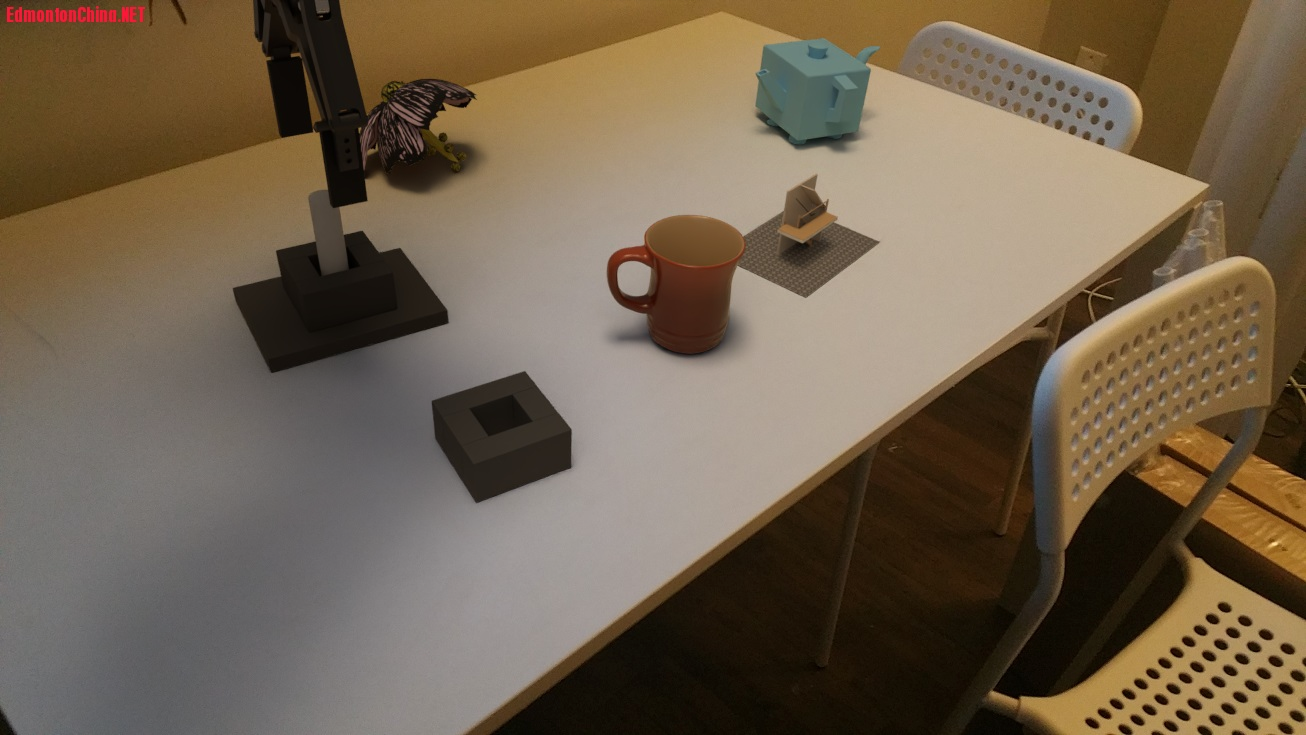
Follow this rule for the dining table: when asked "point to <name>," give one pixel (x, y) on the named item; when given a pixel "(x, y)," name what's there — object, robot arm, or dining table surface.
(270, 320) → the base pad
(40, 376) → the dining table surface
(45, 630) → the dining table surface
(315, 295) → the dark block with hole
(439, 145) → the decorative flower
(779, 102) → the teapot
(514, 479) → the grey square-holed block
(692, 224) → the mug
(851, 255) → the architectural model
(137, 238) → the dining table surface
